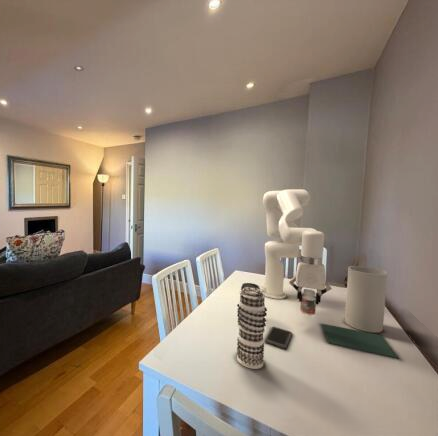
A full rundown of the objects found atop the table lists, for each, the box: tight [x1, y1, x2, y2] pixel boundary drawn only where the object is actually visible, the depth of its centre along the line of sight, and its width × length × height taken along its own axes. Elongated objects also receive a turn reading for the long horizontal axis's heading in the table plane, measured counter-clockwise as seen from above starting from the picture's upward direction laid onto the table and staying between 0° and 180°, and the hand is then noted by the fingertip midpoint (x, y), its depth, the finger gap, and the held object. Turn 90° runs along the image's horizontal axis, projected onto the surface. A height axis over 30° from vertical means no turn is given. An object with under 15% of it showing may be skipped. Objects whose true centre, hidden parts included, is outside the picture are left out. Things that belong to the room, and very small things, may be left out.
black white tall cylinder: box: [236, 287, 268, 370], centre depth 83 cm, size 9×9×25 cm
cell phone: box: [264, 326, 293, 350], centre depth 98 cm, size 7×14×1 cm, turn 141°
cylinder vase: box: [344, 265, 388, 334], centre depth 106 cm, size 12×12×25 cm
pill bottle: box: [299, 288, 317, 316], centre depth 104 cm, size 5×5×10 cm
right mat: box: [320, 323, 400, 360], centre depth 97 cm, size 20×16×1 cm
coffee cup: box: [240, 282, 260, 291], centre depth 115 cm, size 8×8×15 cm
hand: (308, 301), depth 104 cm, fingers closed on pill bottle, 5 cm apart
